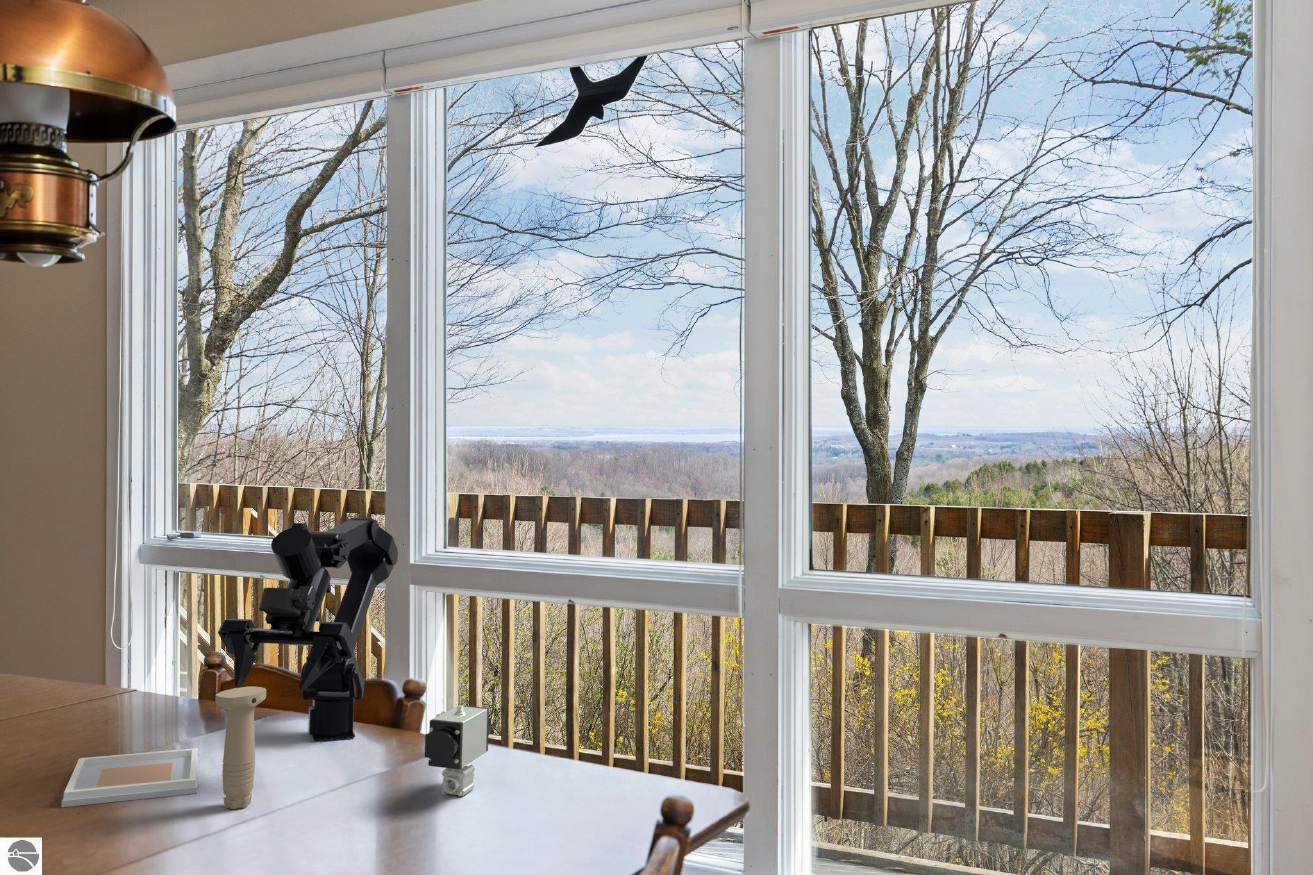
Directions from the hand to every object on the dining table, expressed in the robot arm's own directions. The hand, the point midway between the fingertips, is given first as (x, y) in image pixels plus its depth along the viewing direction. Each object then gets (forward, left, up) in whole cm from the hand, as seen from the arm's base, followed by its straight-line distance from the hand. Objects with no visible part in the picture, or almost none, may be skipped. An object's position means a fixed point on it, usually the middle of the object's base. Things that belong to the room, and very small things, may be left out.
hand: (268, 688), depth 140 cm
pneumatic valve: (-24, +11, -14) cm, 30 cm away
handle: (+4, +7, -14) cm, 16 cm away
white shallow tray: (+17, -8, -13) cm, 23 cm away
